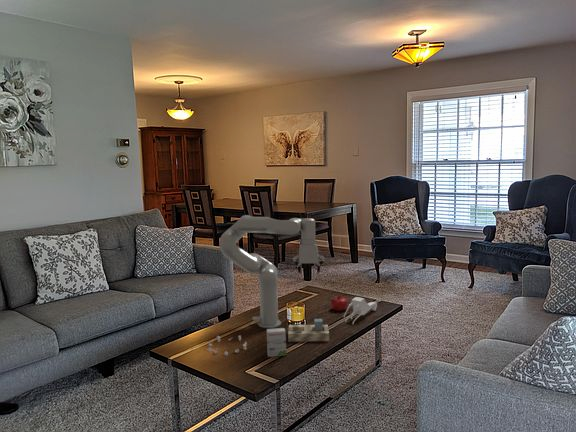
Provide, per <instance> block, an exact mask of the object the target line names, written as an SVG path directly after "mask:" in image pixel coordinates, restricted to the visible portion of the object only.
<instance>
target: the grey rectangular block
mask: <svg viewBox="0 0 576 432" xmlns="http://www.w3.org/2000/svg"><path fill="white" fill-rule="evenodd" d="M313 321H314V324H313V325H314V331H323V325H324V322H323V318H314V320H313Z"/></svg>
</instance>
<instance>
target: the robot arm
mask: <svg viewBox="0 0 576 432" xmlns="http://www.w3.org/2000/svg"><path fill="white" fill-rule="evenodd" d="M299 232H301V233H300V234H301V237H300V239H298V243H301V244H299V250H298V251H299V252H298V254H297V255H296V256H294V257H292V260H293V263H294V264H295V265H296V266H297V273H298V274H299V275H300V274H301V273H302V269H301V265H302V264H316V270H317V271H316V273H317V274H320V272H321V265H322V264H323V263H324V262H325V260H326V257H325V256H323V255H321V254H319V247H318V244H317V243H316V220H315V219H314V218H310V217H307V218H300V217H299V218H298V217H292V218H290V219H283V220H282V219H276V218H271V217H270V216H251V215H248V214H244V215H241V217H240V218H238V219H237V220H236V222H235V223H233V224H232V225H231V226H230V227H229V228H228V229H227V230H226V231H224V232H223V233H222V234H221V236H220V239H219V248H220V252H221V254H222V255H223V256H224V257H225V258H226V259H228V260H229V261H231V262H232V263H233V264H234V265H237V266H238V268H241V269H242V270H244V271H245V272H247V273H248V274H250V275H252V274H257V275H258V286H259V306H260V307H259V309H260V310H259V311H260V312H259V313H260V314H259V315H258V316H253V317H252V318H251V319H252V321H253V322H257V326H258V327H260V328H262V329H276V328H278V327H280V326H281V325H282V322H281V320H280V319H279V308H278V307H279V306H278V305H279V303H278V300H279V299H278V273H279V271H278V268H277V266H275V264H273V263H272V262H270V261H269V260H268V259H266V258H264V257H263V256H261V255H260V254H258V253H255V252H253V253H248V252H247V251H246V250H244V249H243V248H241V247H239V246H238V245H237V242H238V241H240V240H241V238H243V237H244V236H245V235H246V234H248V233H251V234H252V233H254V234H255V233H256V234H271V235H273V234H274V235H297V234H299ZM319 258H320V259H321V260H320V261H319ZM297 259H299V261H297Z"/></svg>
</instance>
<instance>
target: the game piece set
mask: <svg viewBox="0 0 576 432" xmlns="http://www.w3.org/2000/svg"><path fill="white" fill-rule="evenodd" d="M237 338H238V340H239V342H241V340H242V335H241V334H240V335H238V337H237ZM216 339H217V342H218V343H220V341H221V337H220V335H217V336H216ZM232 339H233V337H230V338H228V341H231V340H232ZM212 343H213V340H211V341H210V343H208V348H207V351H208V352H211V351H212V353H213V354H215V355H216V354H217V353H218V351H217V350H218V348H216V349H214V348H213V349H212V347H213V344H212ZM247 345H248V342H247V341H245V342H244V343H243V344H242V347H243V350H247V349H248V347H247ZM234 352H235V353H237V354H238V353H239V352H240V349H239V348H237V349H235V350H234ZM217 355H218V354H217ZM223 356H229V352H228V351H224V353H223Z"/></svg>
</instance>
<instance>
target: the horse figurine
mask: <svg viewBox="0 0 576 432" xmlns="http://www.w3.org/2000/svg"><path fill="white" fill-rule="evenodd" d="M350 307H352V311H351V313H350V314H349V315H348V316H347V317H346V314H347V313H348V311H349V309H350ZM377 307H378V303H377V302H375V301H371V302H368V303H367V301H366V299H365V298H364V297H363V298H362V297H358V296H355V297H354V298H352V299H351V302H350V303H348V306H347V308H346V309H345V310H346V311H345V313H344V314H343V315H342V316H343V318H346V319H345V320H344V322H346V323H347V321H348V319H349V318H350V320H353V321H352V325H354V323H355V321H357V319H358V318H359V317H361V316H365V315H366V314H367V313H368V312H369V311H370V310H372V311H373V312H376V310H377V309H378V308H377ZM354 314H357V316H356V317H355V319H353V316H354Z"/></svg>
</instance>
